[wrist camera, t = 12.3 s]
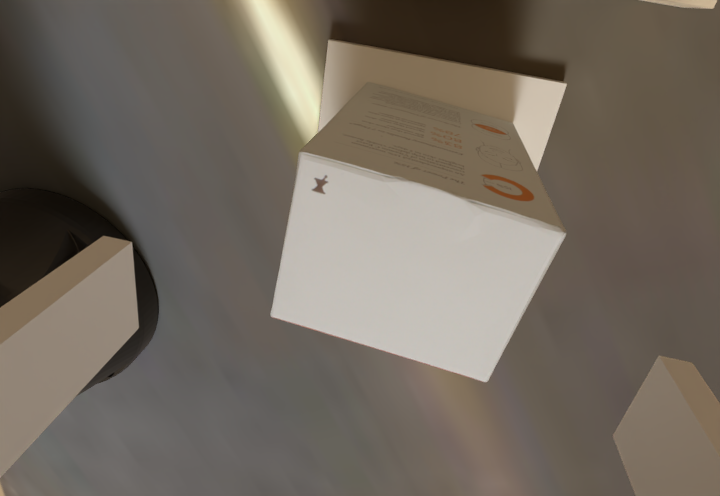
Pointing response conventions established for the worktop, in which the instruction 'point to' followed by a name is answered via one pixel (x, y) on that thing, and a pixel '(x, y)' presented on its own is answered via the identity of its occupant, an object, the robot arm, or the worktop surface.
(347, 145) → the small box
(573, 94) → the worktop surface
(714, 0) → the pocket block
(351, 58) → the ceramic tile
